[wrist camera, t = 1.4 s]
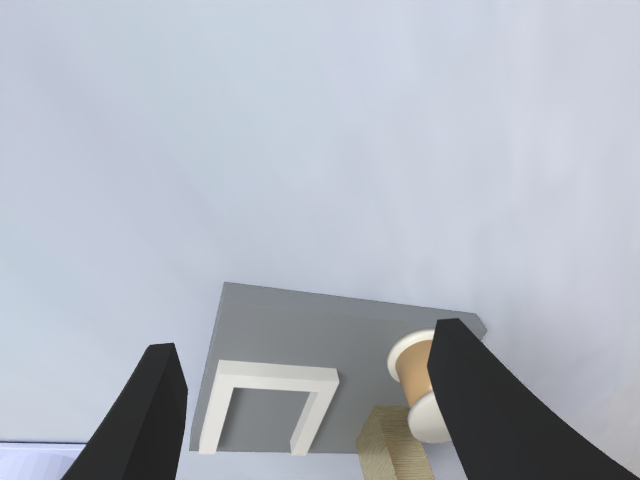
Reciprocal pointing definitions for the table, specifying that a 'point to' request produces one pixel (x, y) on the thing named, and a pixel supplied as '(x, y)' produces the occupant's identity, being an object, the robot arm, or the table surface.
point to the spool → (418, 385)
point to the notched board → (301, 369)
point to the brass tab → (391, 447)
